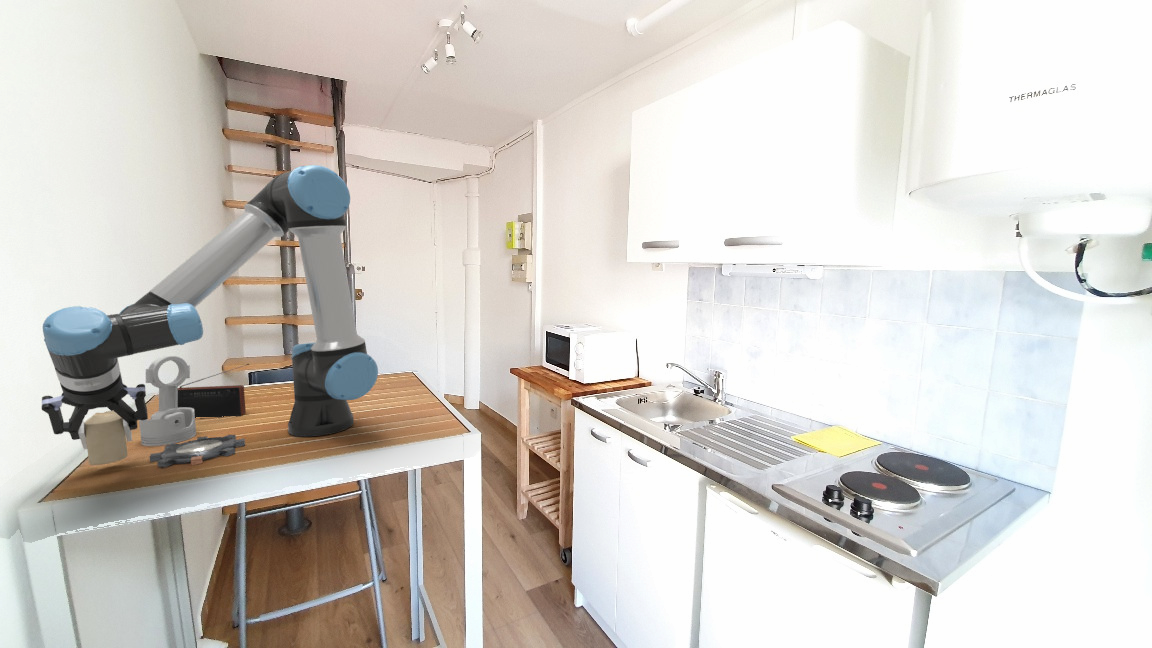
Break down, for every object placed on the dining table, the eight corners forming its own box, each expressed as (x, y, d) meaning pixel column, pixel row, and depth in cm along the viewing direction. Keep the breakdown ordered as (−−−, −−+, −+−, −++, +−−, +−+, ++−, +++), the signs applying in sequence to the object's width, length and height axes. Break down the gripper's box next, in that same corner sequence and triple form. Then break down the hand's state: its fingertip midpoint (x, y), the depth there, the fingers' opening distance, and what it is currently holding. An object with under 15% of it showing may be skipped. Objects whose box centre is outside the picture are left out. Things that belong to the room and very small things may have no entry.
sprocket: (262, 441, 108) (261, 436, 108) (195, 470, 92) (194, 463, 92) (203, 437, 110) (203, 432, 110) (128, 464, 94) (128, 458, 94)
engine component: (129, 444, 106) (163, 447, 104) (121, 359, 104) (155, 361, 102) (178, 429, 116) (210, 432, 114) (172, 352, 114) (204, 353, 112)
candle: (103, 466, 88) (97, 417, 87) (81, 464, 89) (75, 416, 88) (135, 455, 94) (129, 409, 93) (114, 453, 95) (108, 408, 93)
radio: (172, 420, 123) (167, 367, 122) (179, 417, 126) (174, 365, 125) (248, 416, 128) (245, 365, 126) (253, 413, 131) (250, 363, 129)
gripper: (7, 403, 72) (39, 468, 86) (162, 384, 85) (169, 443, 98) (10, 366, 75) (40, 435, 89) (159, 353, 88) (166, 414, 102)
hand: (108, 439), depth 94 cm, fingers closed on candle, 5 cm apart
